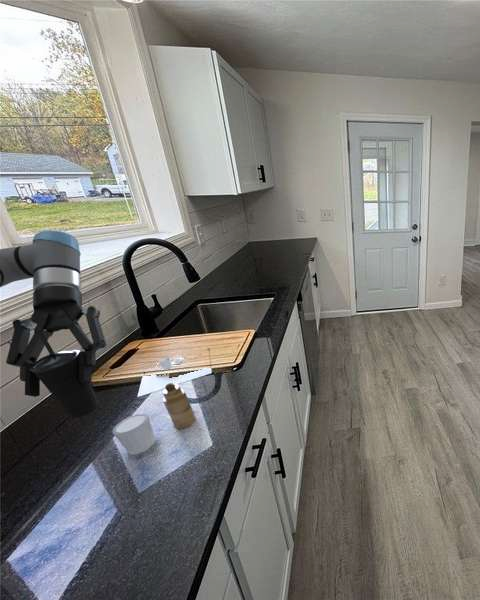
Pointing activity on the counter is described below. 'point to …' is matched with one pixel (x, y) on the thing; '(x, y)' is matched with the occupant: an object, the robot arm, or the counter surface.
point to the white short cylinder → (135, 433)
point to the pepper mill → (178, 406)
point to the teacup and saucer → (167, 362)
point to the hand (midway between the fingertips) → (59, 388)
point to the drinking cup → (65, 380)
